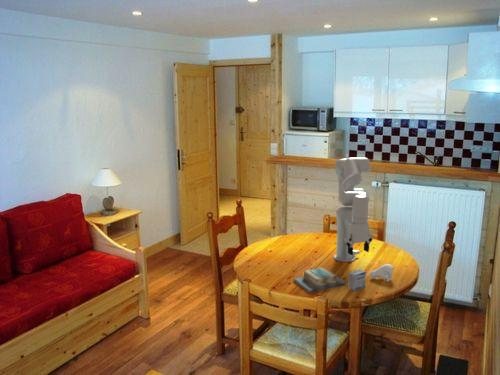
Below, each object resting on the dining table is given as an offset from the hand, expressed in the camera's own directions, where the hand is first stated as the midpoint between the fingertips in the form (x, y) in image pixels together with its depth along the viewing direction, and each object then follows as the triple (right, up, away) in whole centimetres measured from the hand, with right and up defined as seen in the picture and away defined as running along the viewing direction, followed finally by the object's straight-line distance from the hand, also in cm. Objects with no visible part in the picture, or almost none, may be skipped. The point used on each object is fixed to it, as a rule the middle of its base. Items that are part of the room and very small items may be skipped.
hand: (358, 252), depth 230 cm
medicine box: (0, -19, +5) cm, 19 cm away
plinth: (-18, -17, +11) cm, 27 cm away
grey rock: (+15, -16, +14) cm, 27 cm away
